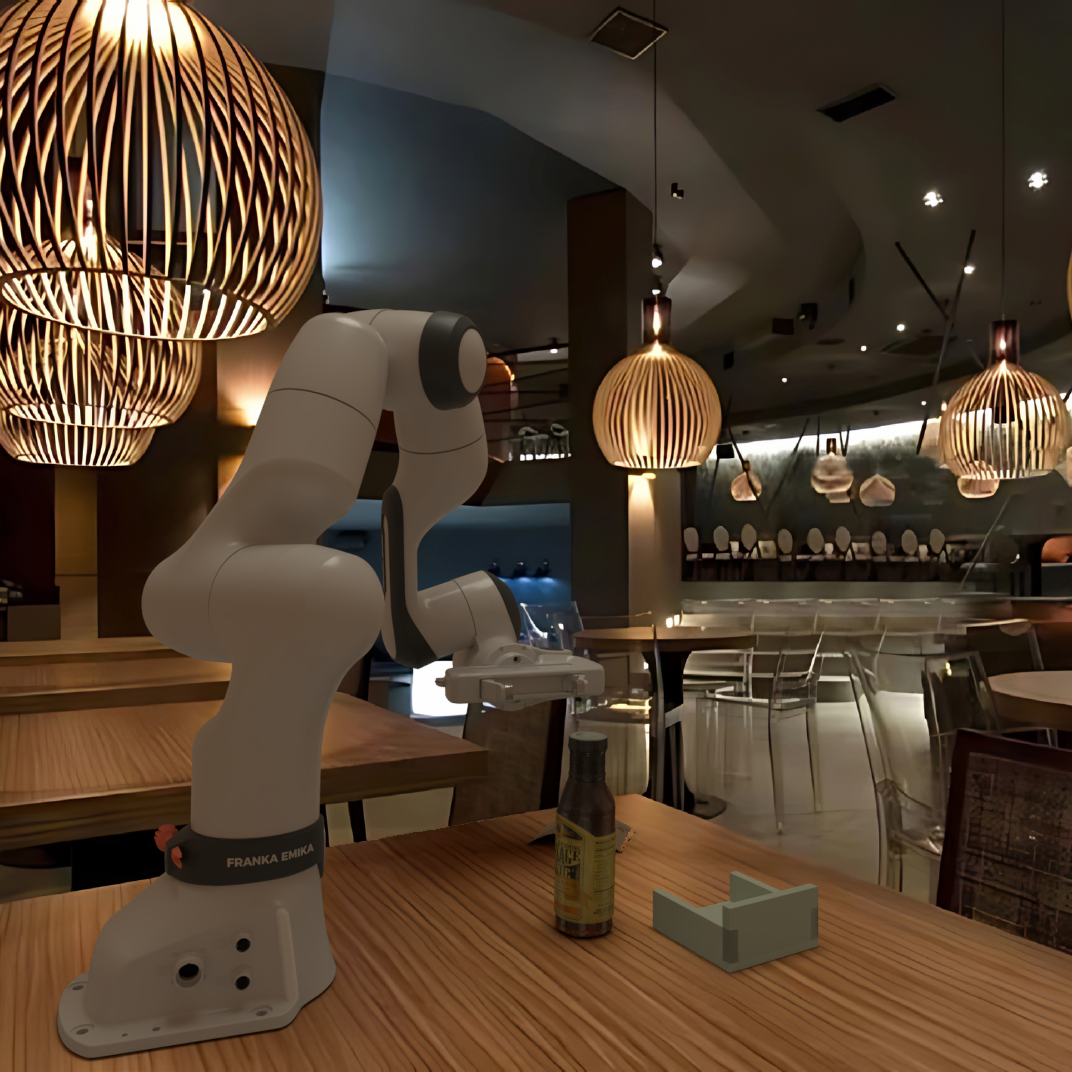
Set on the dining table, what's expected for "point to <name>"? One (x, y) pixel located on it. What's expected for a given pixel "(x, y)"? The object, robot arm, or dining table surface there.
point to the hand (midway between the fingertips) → (545, 691)
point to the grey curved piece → (620, 827)
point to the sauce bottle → (585, 842)
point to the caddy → (742, 923)
